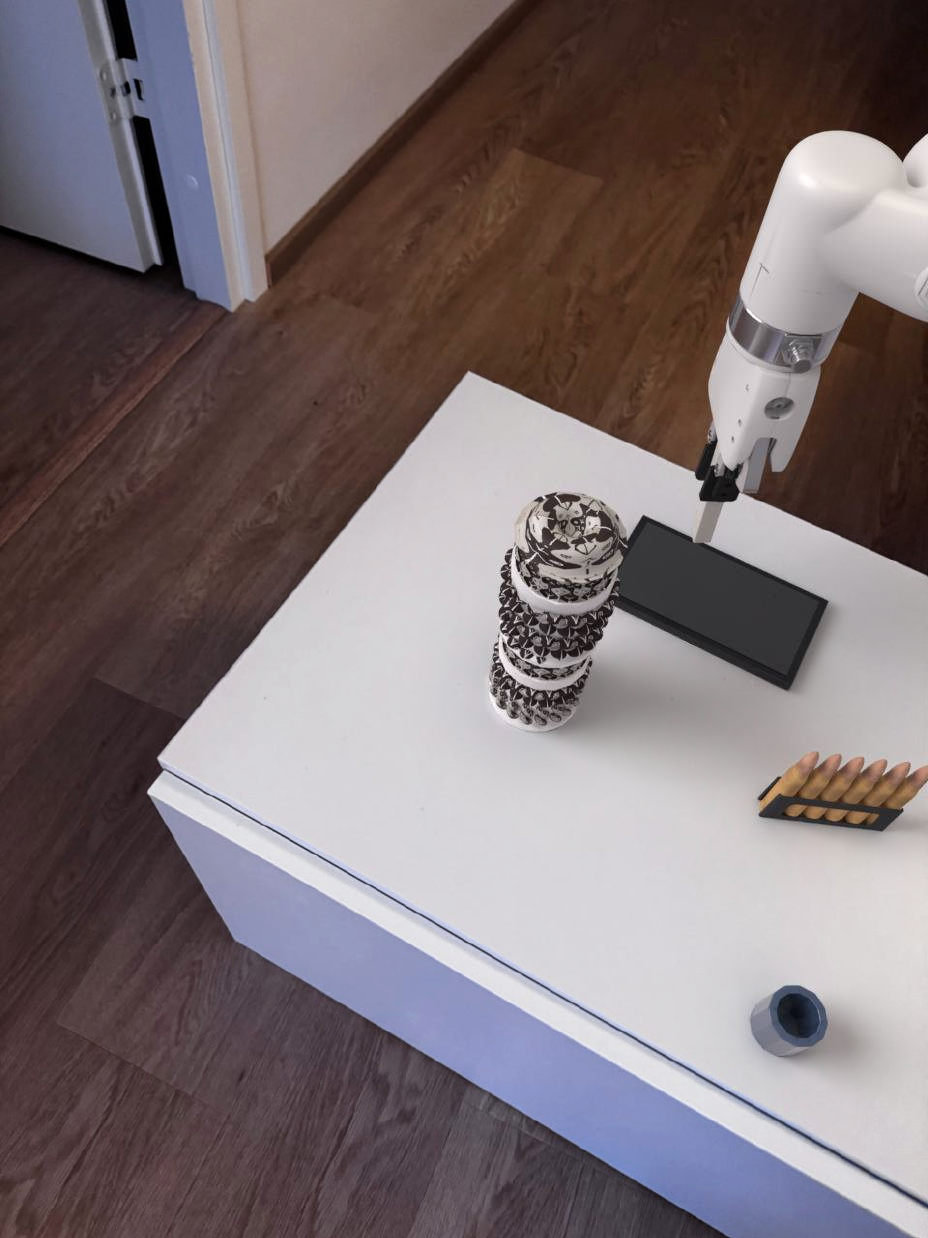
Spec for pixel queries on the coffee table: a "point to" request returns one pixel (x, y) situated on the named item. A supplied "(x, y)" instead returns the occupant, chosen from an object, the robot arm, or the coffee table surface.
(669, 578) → the tablet
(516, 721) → the decorative candle
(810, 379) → the robot arm
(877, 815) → the ammunition clip
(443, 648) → the coffee table surface
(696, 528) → the stylus
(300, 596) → the coffee table surface
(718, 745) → the coffee table surface
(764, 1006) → the holder
